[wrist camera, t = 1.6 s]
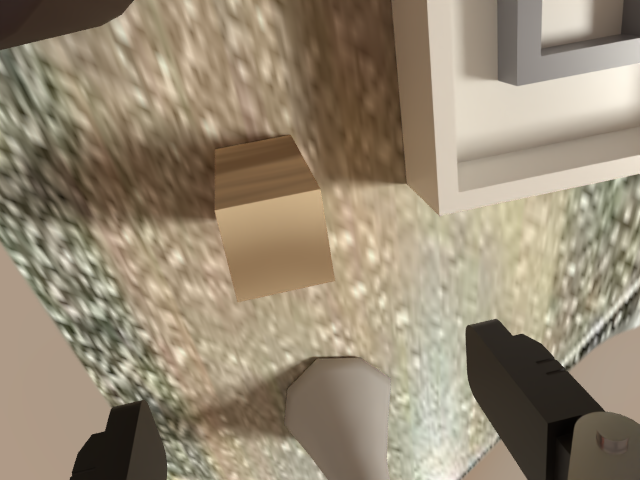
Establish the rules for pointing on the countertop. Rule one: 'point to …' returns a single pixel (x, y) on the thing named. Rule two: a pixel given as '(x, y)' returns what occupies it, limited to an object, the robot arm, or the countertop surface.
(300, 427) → the flask
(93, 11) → the bottle
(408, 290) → the countertop surface
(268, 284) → the plug
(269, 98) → the countertop surface
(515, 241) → the countertop surface
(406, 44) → the box
